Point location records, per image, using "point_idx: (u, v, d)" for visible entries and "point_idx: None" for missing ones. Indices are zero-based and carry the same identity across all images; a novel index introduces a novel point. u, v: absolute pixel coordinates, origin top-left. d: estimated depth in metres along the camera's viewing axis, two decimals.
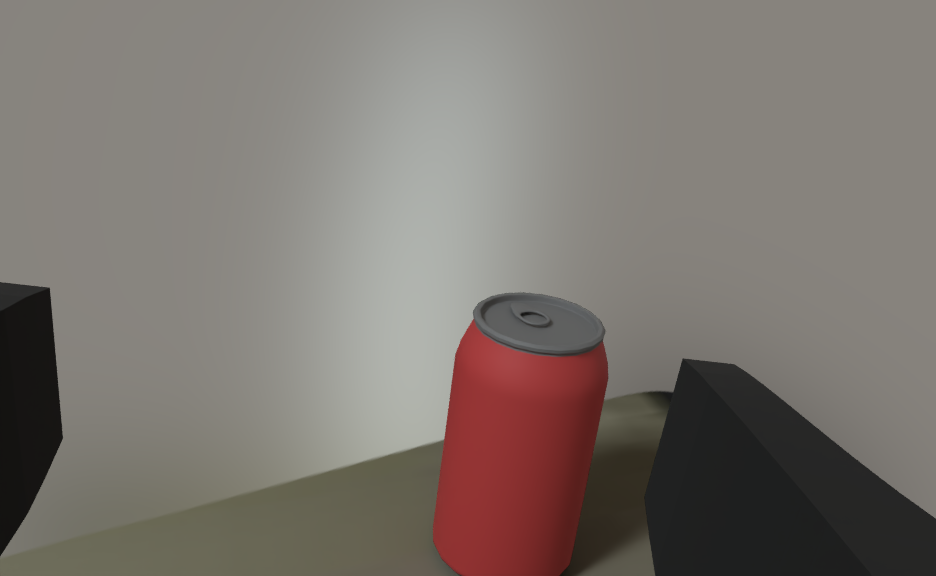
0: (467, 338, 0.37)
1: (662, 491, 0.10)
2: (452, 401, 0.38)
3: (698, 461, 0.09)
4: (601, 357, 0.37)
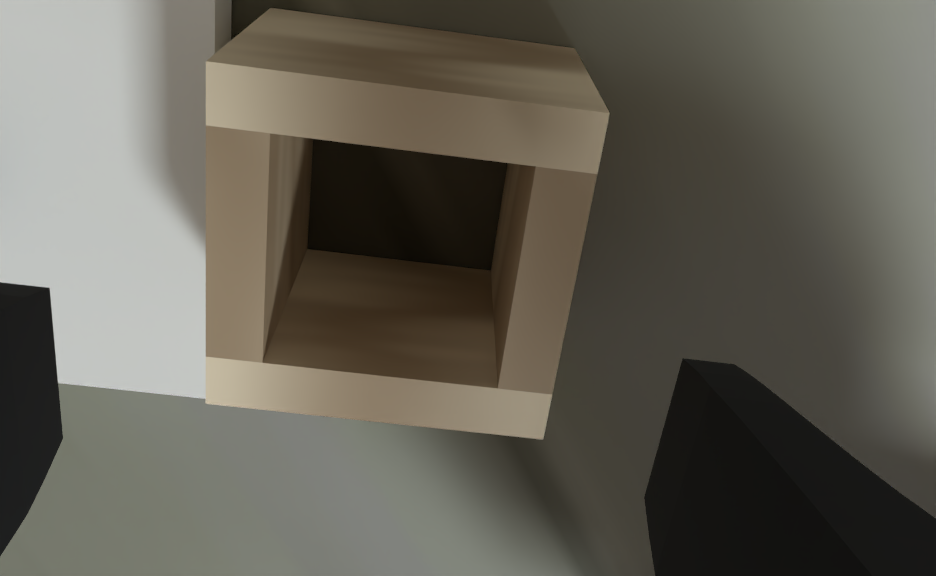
0: None
1: (662, 491, 0.10)
2: None
3: (698, 461, 0.09)
4: None
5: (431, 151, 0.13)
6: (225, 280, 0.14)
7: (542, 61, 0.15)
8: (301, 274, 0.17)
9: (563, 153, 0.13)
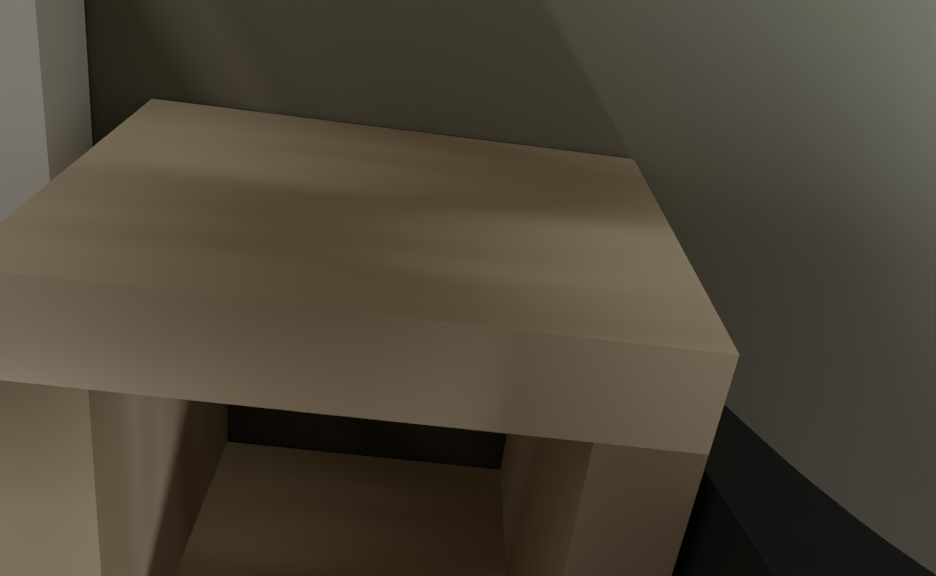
0: None
1: None
2: None
3: None
4: None
5: (397, 419, 0.07)
6: None
7: (590, 199, 0.09)
8: (211, 499, 0.11)
9: (645, 420, 0.07)
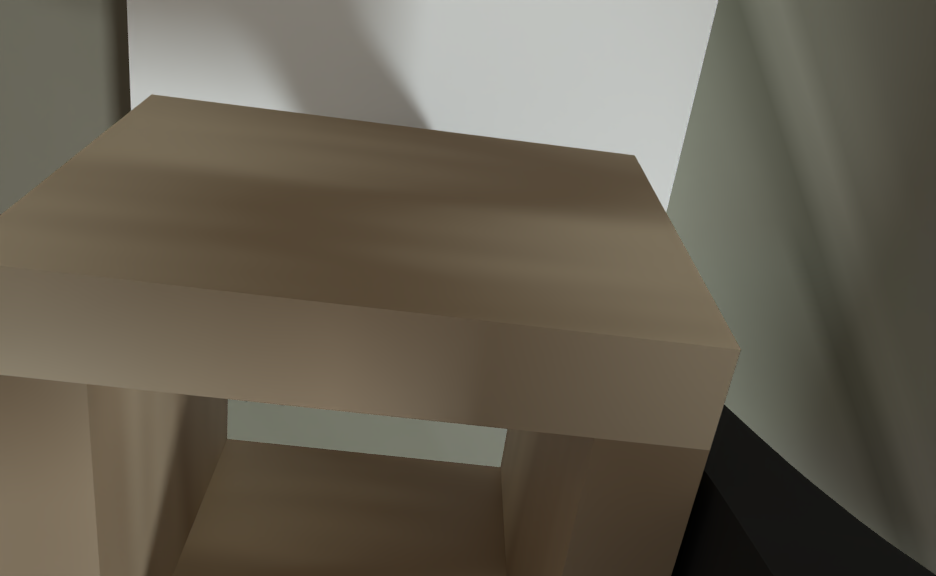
0: None
1: None
2: None
3: None
4: None
5: (397, 414, 0.07)
6: None
7: (591, 195, 0.09)
8: (210, 496, 0.11)
9: (647, 417, 0.07)
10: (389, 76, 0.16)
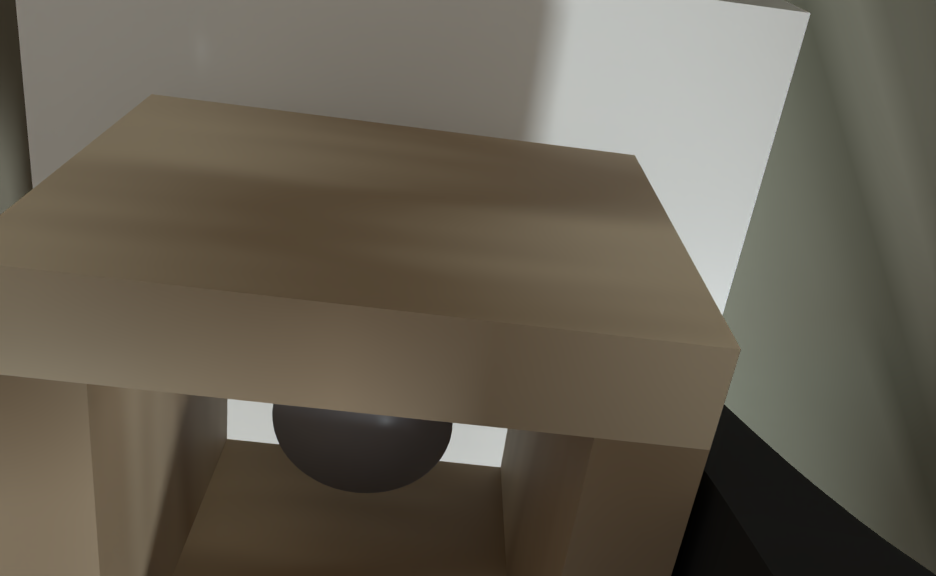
0: None
1: None
2: None
3: None
4: None
5: (396, 414, 0.07)
6: None
7: (590, 194, 0.09)
8: (210, 496, 0.11)
9: (646, 417, 0.07)
10: None
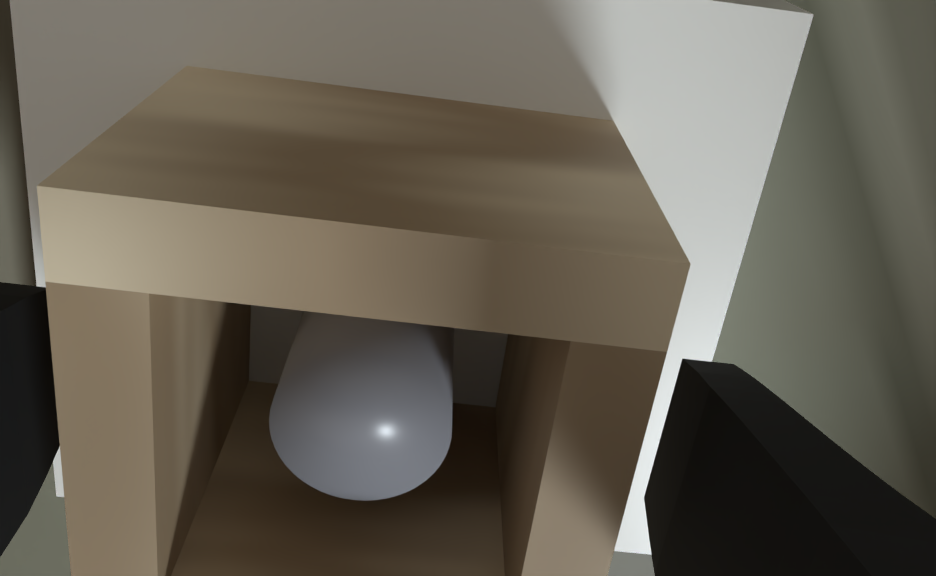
0: None
1: (662, 491, 0.10)
2: None
3: (698, 461, 0.09)
4: None
5: (406, 320, 0.08)
6: (94, 498, 0.09)
7: (572, 150, 0.10)
8: (236, 427, 0.13)
9: (614, 322, 0.08)
10: None
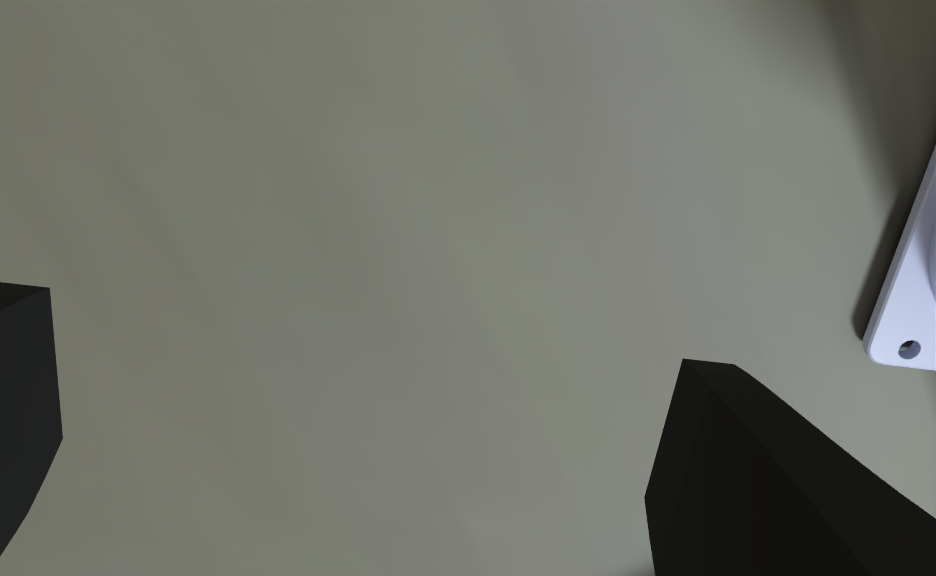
0: None
1: (662, 491, 0.10)
2: None
3: (698, 461, 0.09)
4: None
5: None
6: None
7: None
8: None
9: None
10: None
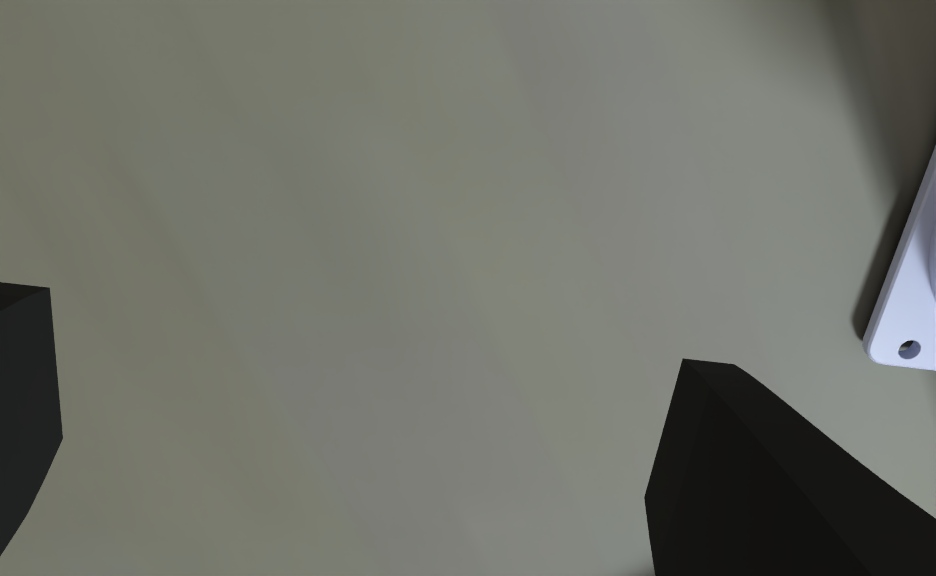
0: None
1: (662, 491, 0.10)
2: None
3: (698, 461, 0.09)
4: None
5: None
6: None
7: None
8: None
9: None
10: None
